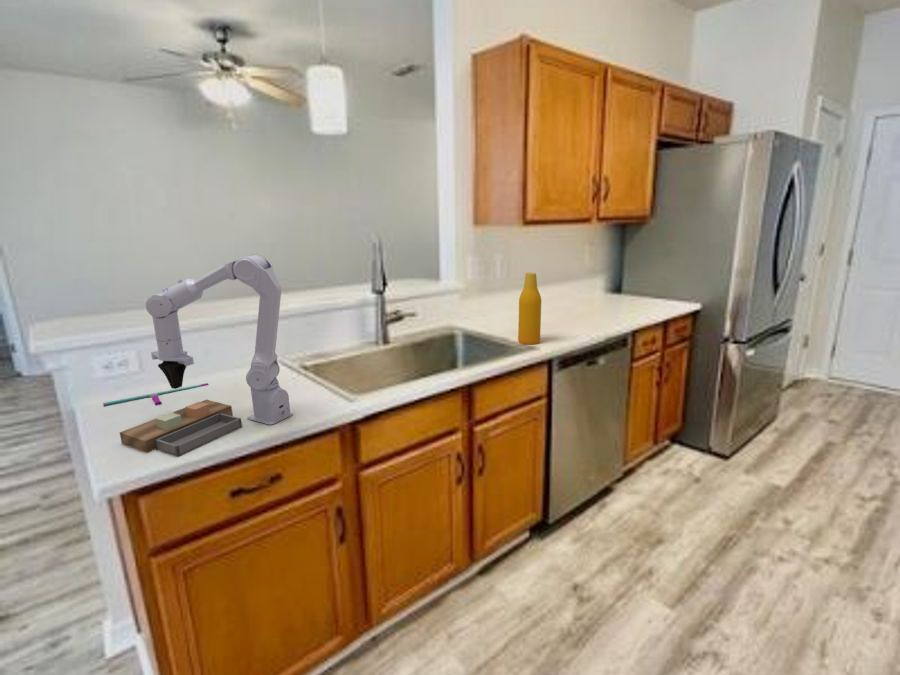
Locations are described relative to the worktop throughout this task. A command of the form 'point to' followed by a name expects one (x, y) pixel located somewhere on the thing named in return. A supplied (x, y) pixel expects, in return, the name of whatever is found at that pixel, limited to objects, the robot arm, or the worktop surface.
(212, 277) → the robot arm
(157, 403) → the squeegee
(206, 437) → the tray
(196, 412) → the tile terracotta
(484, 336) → the worktop surface
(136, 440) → the board
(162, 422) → the tile sage
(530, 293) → the beer bottle
